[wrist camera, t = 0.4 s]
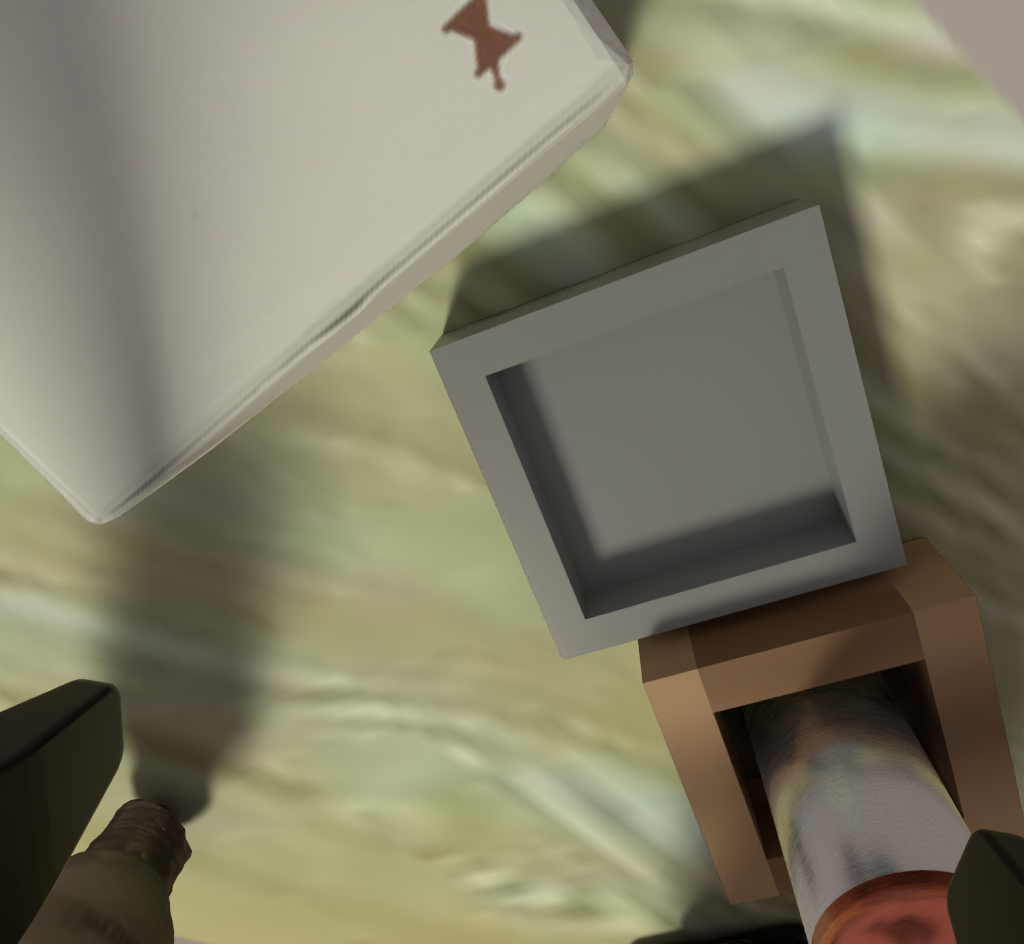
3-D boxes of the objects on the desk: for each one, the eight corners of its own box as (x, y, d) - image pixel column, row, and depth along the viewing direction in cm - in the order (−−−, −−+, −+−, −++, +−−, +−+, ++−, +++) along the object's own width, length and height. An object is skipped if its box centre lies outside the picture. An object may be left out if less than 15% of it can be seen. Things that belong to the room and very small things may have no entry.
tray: (882, 532, 21) (907, 564, 20) (564, 623, 23) (562, 660, 21) (797, 199, 18) (819, 204, 17) (442, 334, 20) (429, 351, 19)
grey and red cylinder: (894, 728, 24) (1063, 1044, 15) (760, 760, 24) (851, 1076, 16) (864, 618, 22) (1031, 897, 14) (723, 655, 23) (801, 939, 15)
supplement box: (403, -185, 16) (-54, -1032, 5) (614, 126, 18) (670, 83, 6) (165, 66, 18) (-556, -77, 7) (375, 321, 20) (92, 555, 9)
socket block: (977, 764, 24) (1029, 845, 21) (714, 822, 25) (730, 905, 23) (924, 537, 21) (975, 594, 18) (635, 618, 23) (642, 683, 20)
